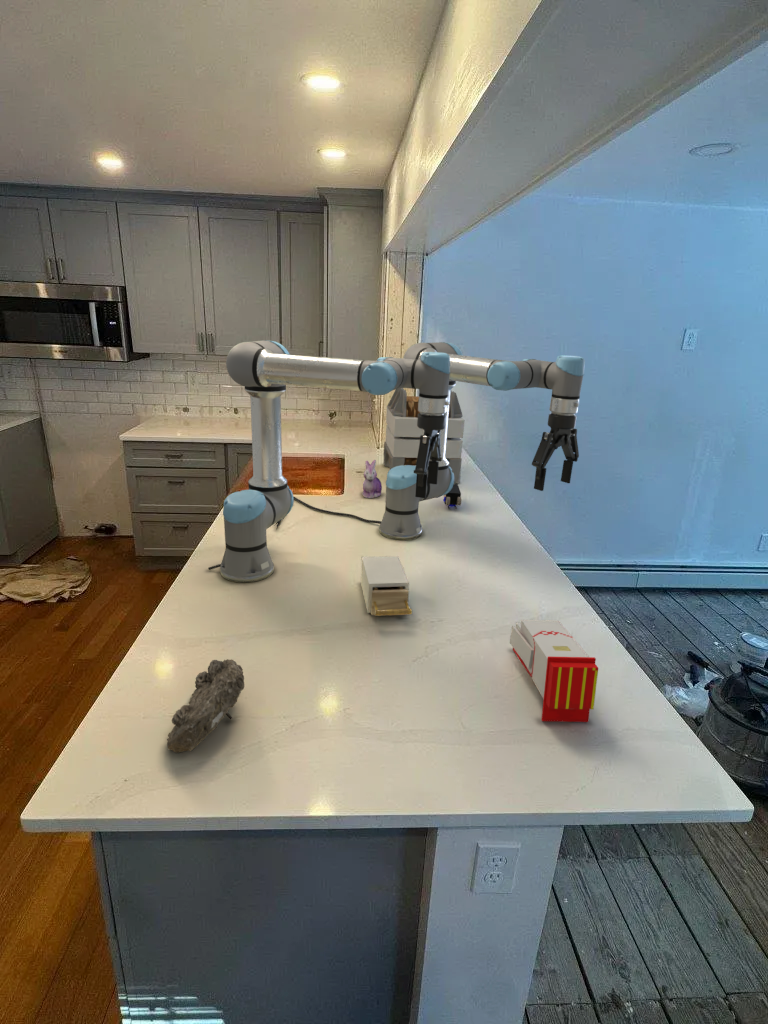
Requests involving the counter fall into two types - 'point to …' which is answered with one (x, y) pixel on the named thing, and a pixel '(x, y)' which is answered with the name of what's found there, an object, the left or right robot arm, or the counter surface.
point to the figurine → (371, 481)
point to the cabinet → (381, 575)
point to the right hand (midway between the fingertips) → (552, 485)
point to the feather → (278, 523)
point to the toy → (556, 669)
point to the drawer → (390, 601)
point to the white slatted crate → (419, 432)
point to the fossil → (206, 705)
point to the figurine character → (453, 497)
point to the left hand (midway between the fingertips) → (426, 490)
